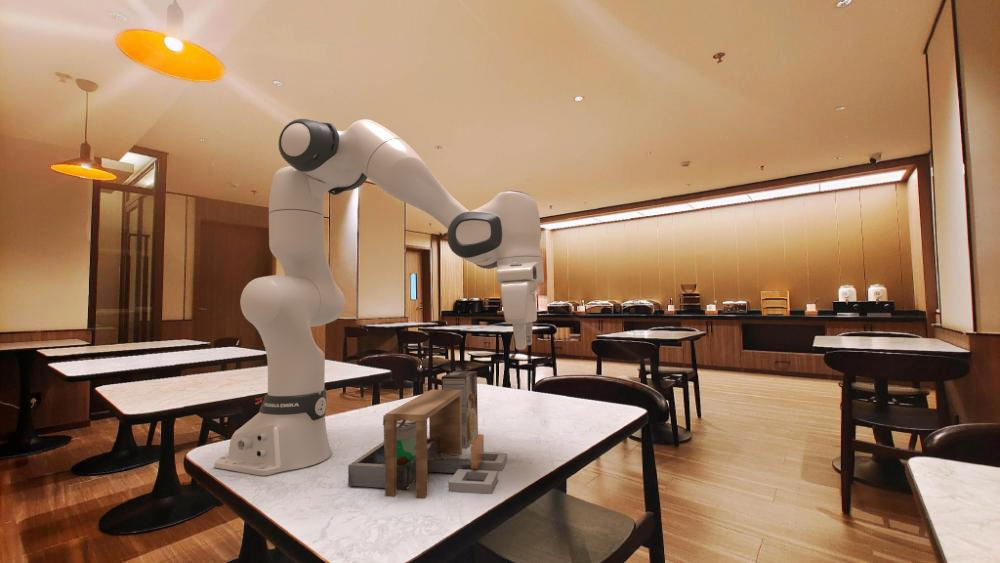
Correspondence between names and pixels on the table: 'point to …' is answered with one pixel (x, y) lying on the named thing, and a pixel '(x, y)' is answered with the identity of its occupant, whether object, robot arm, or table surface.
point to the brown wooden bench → (424, 433)
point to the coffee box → (465, 401)
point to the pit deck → (479, 475)
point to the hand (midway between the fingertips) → (524, 347)
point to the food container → (404, 440)
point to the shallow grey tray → (410, 465)
